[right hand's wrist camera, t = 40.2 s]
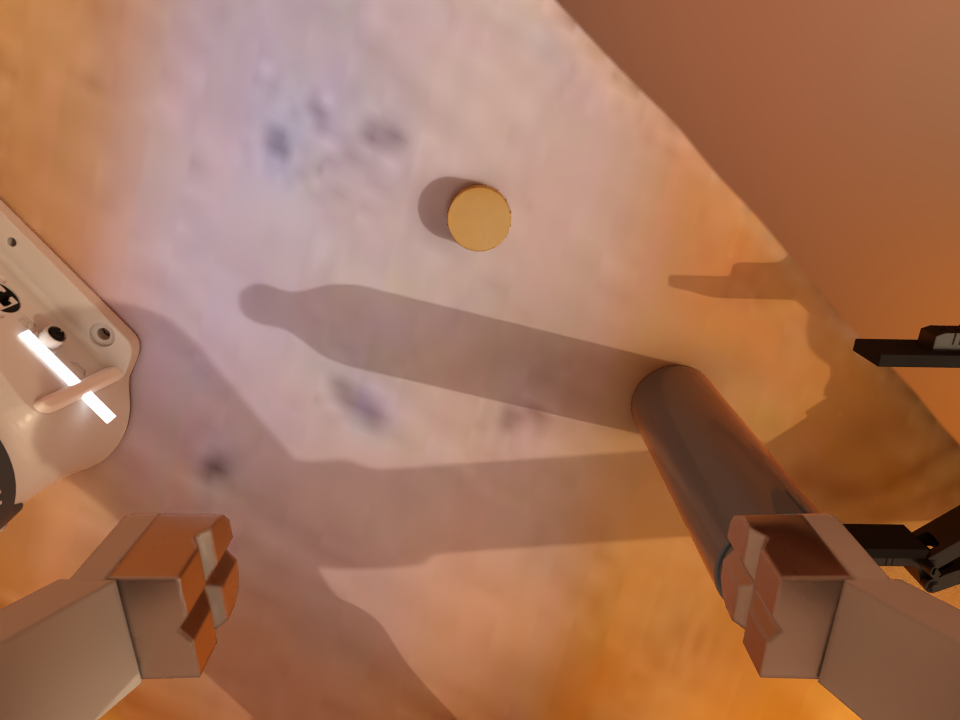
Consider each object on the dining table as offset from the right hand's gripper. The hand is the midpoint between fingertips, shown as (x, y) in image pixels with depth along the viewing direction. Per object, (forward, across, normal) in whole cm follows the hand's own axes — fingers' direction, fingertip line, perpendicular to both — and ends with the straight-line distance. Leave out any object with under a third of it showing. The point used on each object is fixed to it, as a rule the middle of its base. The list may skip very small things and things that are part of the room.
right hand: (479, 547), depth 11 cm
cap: (+33, 0, 0) cm, 33 cm away
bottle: (+34, +14, -14) cm, 39 cm away
